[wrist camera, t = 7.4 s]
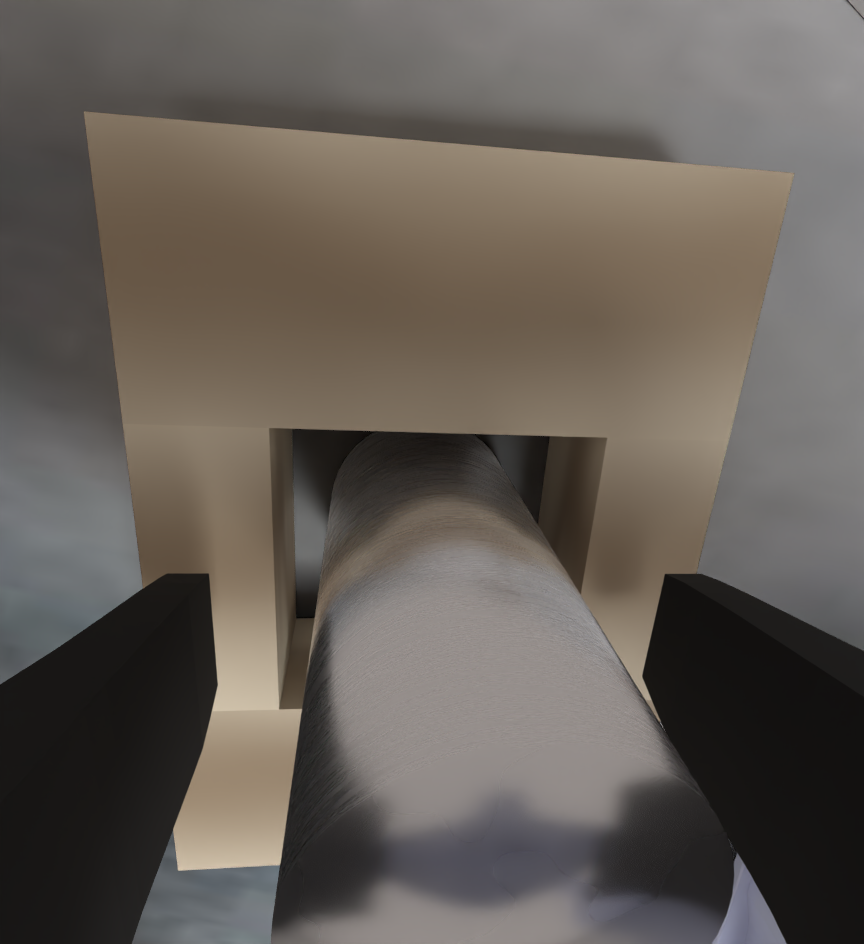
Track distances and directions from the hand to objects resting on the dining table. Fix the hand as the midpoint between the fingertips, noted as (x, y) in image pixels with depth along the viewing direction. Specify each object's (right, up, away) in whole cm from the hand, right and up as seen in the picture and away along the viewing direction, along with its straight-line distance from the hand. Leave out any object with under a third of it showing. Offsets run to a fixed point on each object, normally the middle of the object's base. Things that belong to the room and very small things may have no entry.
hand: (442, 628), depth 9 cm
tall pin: (0, +2, +4) cm, 4 cm away
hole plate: (0, +2, +4) cm, 4 cm away
